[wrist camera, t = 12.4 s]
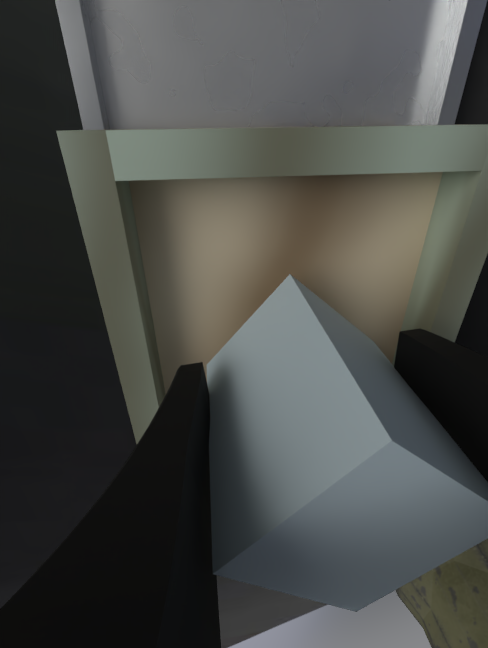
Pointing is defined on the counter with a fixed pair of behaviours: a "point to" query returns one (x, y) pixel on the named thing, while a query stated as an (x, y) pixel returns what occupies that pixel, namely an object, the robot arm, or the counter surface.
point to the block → (329, 462)
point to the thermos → (452, 600)
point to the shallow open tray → (274, 233)
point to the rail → (268, 62)
